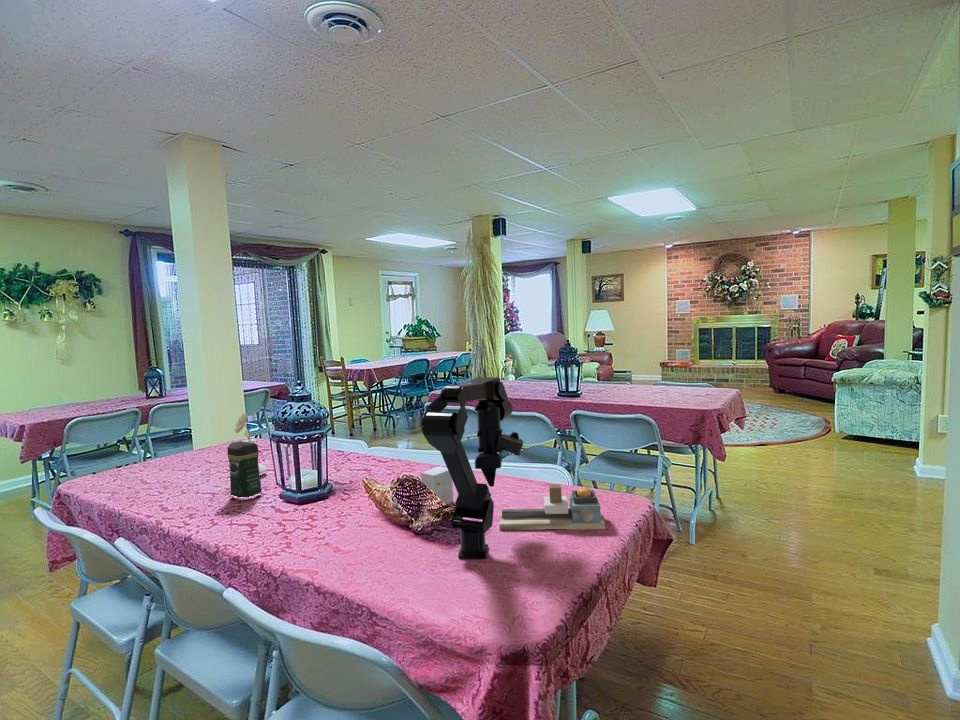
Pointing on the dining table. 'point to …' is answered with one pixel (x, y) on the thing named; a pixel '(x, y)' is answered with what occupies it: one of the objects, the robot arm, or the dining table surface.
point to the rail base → (556, 516)
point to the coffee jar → (244, 469)
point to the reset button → (583, 492)
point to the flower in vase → (239, 427)
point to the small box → (439, 483)
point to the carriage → (555, 501)
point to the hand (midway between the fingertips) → (491, 486)
